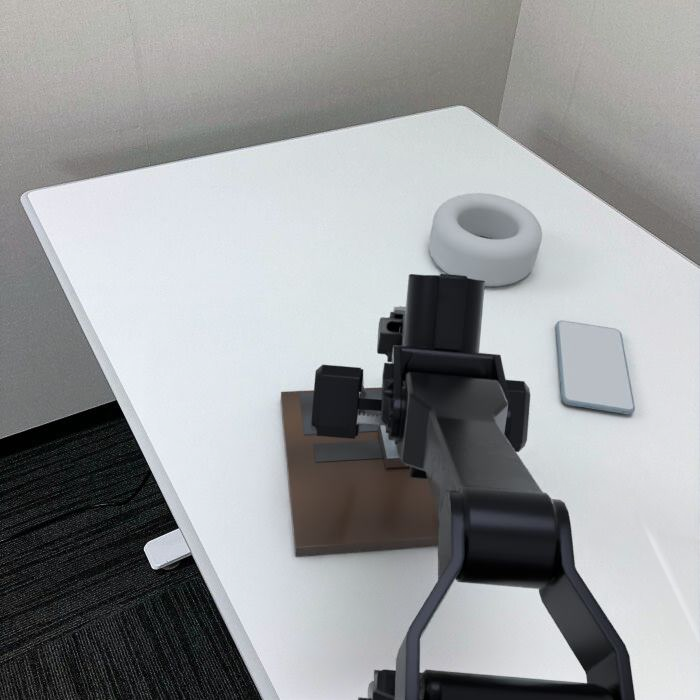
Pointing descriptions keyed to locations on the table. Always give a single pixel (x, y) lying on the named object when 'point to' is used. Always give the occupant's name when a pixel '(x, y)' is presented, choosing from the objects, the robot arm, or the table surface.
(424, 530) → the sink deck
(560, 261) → the table surface
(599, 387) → the smartphone
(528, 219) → the donut shape
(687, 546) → the table surface
